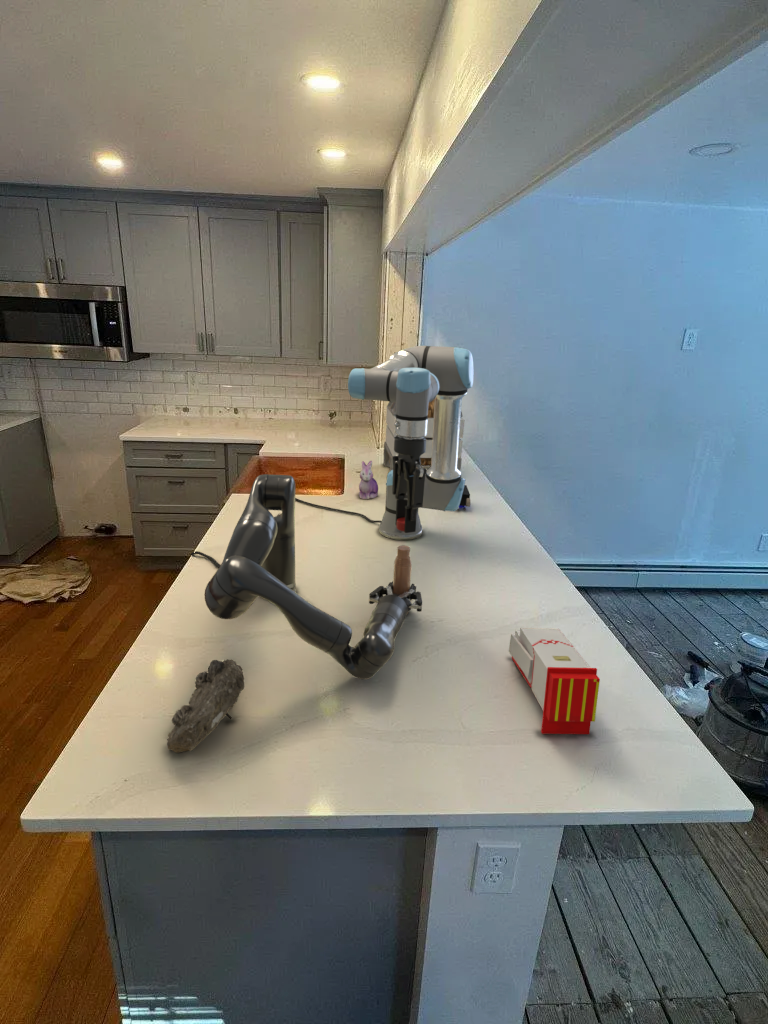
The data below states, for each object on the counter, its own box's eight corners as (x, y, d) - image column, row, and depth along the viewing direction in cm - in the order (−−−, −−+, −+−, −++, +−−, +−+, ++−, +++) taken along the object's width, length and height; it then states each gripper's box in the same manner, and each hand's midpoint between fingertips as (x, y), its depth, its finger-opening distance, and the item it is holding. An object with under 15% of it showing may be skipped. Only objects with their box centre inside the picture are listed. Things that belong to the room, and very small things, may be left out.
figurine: (363, 500, 232) (364, 465, 227) (352, 493, 240) (353, 459, 235) (383, 498, 236) (385, 463, 231) (372, 491, 244) (373, 457, 239)
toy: (555, 612, 132) (609, 675, 103) (550, 665, 135) (600, 741, 106) (504, 611, 132) (543, 673, 102) (499, 664, 134) (536, 740, 105)
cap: (392, 528, 140) (393, 521, 140) (402, 523, 144) (402, 516, 143) (408, 532, 138) (409, 525, 138) (417, 527, 142) (417, 519, 141)
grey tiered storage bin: (382, 463, 289) (386, 382, 275) (445, 464, 293) (451, 384, 279) (390, 482, 257) (394, 392, 243) (460, 483, 261) (468, 394, 247)
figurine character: (470, 515, 225) (465, 499, 238) (472, 498, 221) (467, 483, 235) (453, 515, 224) (449, 499, 238) (455, 497, 221) (451, 482, 234)
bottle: (409, 608, 151) (413, 545, 144) (407, 616, 146) (411, 552, 140) (392, 606, 151) (396, 543, 145) (390, 614, 147) (393, 550, 141)
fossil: (192, 660, 117) (244, 628, 112) (224, 691, 120) (276, 661, 115) (142, 746, 98) (202, 712, 93) (182, 779, 101) (242, 748, 96)
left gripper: (358, 625, 136) (376, 593, 152) (416, 635, 133) (429, 602, 149) (359, 598, 134) (378, 568, 149) (418, 607, 131) (431, 576, 146)
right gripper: (380, 429, 139) (377, 517, 147) (413, 445, 124) (407, 543, 132) (408, 427, 142) (403, 514, 150) (443, 443, 127) (435, 539, 135)
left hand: (403, 585), depth 149 cm, fingers closed on bottle, 4 cm apart
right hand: (405, 527), depth 141 cm, fingers closed on cap, 4 cm apart
